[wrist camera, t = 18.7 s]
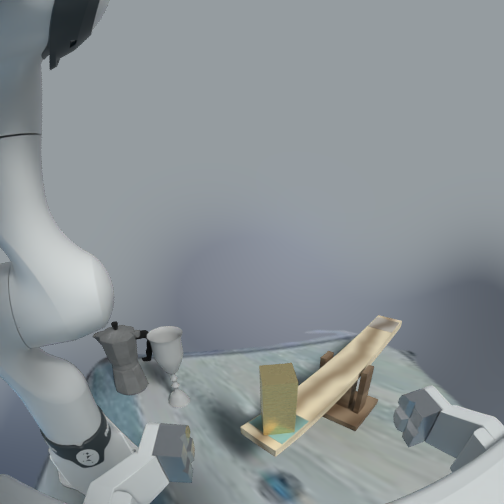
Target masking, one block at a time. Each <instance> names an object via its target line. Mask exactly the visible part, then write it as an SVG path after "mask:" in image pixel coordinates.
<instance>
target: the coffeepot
mask: <svg viewBox="0 0 504 504" xmlns="http://www.w3.org/2000/svg"><path fill="white" fill-rule="evenodd" d="M111 325H112V327H109V328H107V329H105V330H104V331H101V332H97V333H95V334H94V335H93V337H94V338H95V339H96V340H97V341H98V342H99V343H100V344H101V345H102V346H103V349H104V351H105V353H106V355H107V357H108V359H109V361H110V363H111V364H112V368H113V374H114V380H115V385H116V389H117V392H119V393H122V394H125V395H135V394H138V393H140V392H142V391H144V390H145V389H146V387H147V385H148V384H149V383H148V381H147V379H146V376H145V374H144V372H143V370H142V368H141V366H140V364H139V362H138V360H137V357H138V355H137V344H136V339H141V338H146V339H147V334H148V333H149V332H148V331H146V330H142V331H140V330H134V328H133V327H130V326H125V325H119V326H118V323H117V322H112V323H111ZM146 355H147V357H144V358H142V360H143V361H150V360H151V357H152V347H151V343H150V341H149V340H148V339H147V350H146Z"/></svg>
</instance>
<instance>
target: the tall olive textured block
mask: <svg viewBox="0 0 504 504" xmlns="http://www.w3.org/2000/svg"><path fill="white" fill-rule="evenodd" d="M259 370H260V398H261V418H262V426H263V434H264V435H275V434H284V433H293V432H295V420H296V407H297V394H298V380H297V377H296V374H295V371H294V368H293V365H292V363H286V364H275V365H263V366H259Z"/></svg>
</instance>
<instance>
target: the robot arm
mask: <svg viewBox="0 0 504 504" xmlns="http://www.w3.org/2000/svg"><path fill="white" fill-rule="evenodd" d="M109 1H110V0H0V248H1V249H2V250H3V251H4V252H5V253H6V255H7V256H8V258H9V259H10V261H11V262H7V263H2V264H0V377H1V378H2V379H3V380H4V381H5V382H6V383H7V384H8V385H9V386H10V387H11V388H12V389H13V390H14V391H15V393H16V394H17V395H18V396H19V397H20V399H21V400H22V401H23V403H24V404H25V406H26V408H27V409H28V411H29V412H30V413H31V415H32V416H33V418H34V420H35V421H36V423H37V424H38V426H39V427H40V431H41V434H42V436H43V437H44V440H45V442H46V443H47V444H48V446H49V447H50V448H49V453H50V459H51V460H52V462H53V463H54V465H55V466H56V467H57V469H58V474H59V480H60V482H61V483H62V485H64V486H66V487H69V488H73V489H76V490H78V491H79V492H81V493H82V494H84V495H86V497H85V500H84V502H83V504H150V503H151V502H152V501H153V500H154V498H155V497H156V496H157V495H158V494H159V493H160V492H161V491H162V490H163V489H164V488H165V487H166V486H167V485H168V484H169V482H186V483H192V477H193V467H192V465H191V463H192V462H193V461H194V456H195V450H194V442H193V439H192V438H191V437H190V429H189V426H188V425H176V424H163V423H151V422H148V423H147V424H146V426H145V429H144V432H143V435H142V439H141V442H140V445H139V448H138V447H137V446H136V445H135V444H134V443H133V442H132V441H131V440H130V439H129V438H128V437H127V436H125V435H124V434H123V433H122V432H121V431H120V430H119V429H118V428H117V427H116V426H115V425H114V424H113V423H112V421H111V420H110V419H109V418H108V417H106V416H105V414H104V413H103V412H102V410H101V409H100V407H99V406H98V405H97V404H96V402H95V400H94V398H93V395H92V393H91V391H90V388H89V386H88V384H87V381H86V379H85V377H84V375H83V374H82V373H81V372H80V370H79V369H77V367H75V366H74V365H73V364H72V363H70V362H69V361H67V360H65V359H62V358H59V357H56V356H53V355H50V354H48V353H46V352H45V351H43V350H42V349H41V348H40V347H42V346H47V345H53V344H58V343H63V342H69V341H74V340H77V339H79V338H82V337H84V336H86V335H89V334H91V333H93V332H95V331H97V330H99V329H101V328H104V327H105V326H106V324H107V323H108V321H109V319H110V317H111V314H112V311H113V306H114V291H113V285H112V281H111V279H110V276H109V274H108V272H107V270H106V269H105V267H104V266H103V264H102V263H101V262H100V261H99V260H98V259H97V258H96V257H95V256H93V255H92V254H90V253H88V252H87V251H85V250H83V249H81V248H80V247H78V246H77V245H75V244H74V243H73V242H72V241H71V240H69V238H68V237H67V236H66V235H65V234H64V233H63V232H62V231H61V229H60V228H59V227H58V225H57V224H56V222H55V220H54V218H53V217H52V214H51V212H50V210H49V207H48V204H47V201H46V196H45V190H44V184H43V175H42V161H41V135H42V77H41V76H42V75H41V74H42V73H41V62H42V60H43V59H45V58H46V57H47V56H48V55H50V70H52V69H53V68H55V67H57V65H58V63H59V60H60V58H61V57H63V56H65V55H67V54H69V53H70V52H72V51H74V50H75V49H76V48H78V46H80V45H81V44H82V43H83V42H84V41H85V40H86V39H87V38H88V37H89V36H90V35H91V32H92V30H93V29H94V27H95V26H96V25H97V24H98V22H99V21H100V19H101V18H102V16H103V14H104V13H105V11H106V8H107V6H108V3H109ZM398 403H399V407H398V408H397V409H396V410H395V412H394V416H393V418H394V424H395V427H396V428H397V430H399V431H401V432H403V435H402V438H403V439H404V441H405V442H406V444H407V446H408V447H411V446H413V445H416V444H419V443H421V442H424V441H425V442H426V443H428V444H430V445H432V446H434V447H435V448H437V449H439V450H441V451H443V452H445V453H447V454H449V455H451V456H453V457H455V458H456V460H455V461H454V462H453V464H452V465H451V467H450V469H451V471H452V473H450V474H449V475H447V476H445V477H443V478H441V479H440V480H438V481H436V482H434V483H432V484H430V485H428V486H426V487H424V488H422V489H420V490H417V491H415V492H413V493H411V494H409V495H406V496H404V497H402V498H399V499H397V500H394V501H392V502H389V503H387V504H504V426H503V425H502V424H501V423H500V422H499V421H498V420H497V419H496V418H495V417H493V416H489V415H486V414H482V413H479V412H476V411H472V410H469V409H466V408H463V407H460V406H456V405H453V406H452V405H451V404H450V403H449V402H448V401H447V400H446V399H445V398H444V397H443V396H442V395H441V394H440V392H439V391H438V390H437V389H436V388H435V387H434V386H432V385H430V386H427V387H425V388H422V389H419V390H416V391H413V392H410V393H407V394H404V395H402V396H401V397H400V398H399V401H398ZM134 451H136V452H134ZM0 504H68V503H65V502H63V501H60V500H58V499H55V498H53V497H51V496H48V495H46V494H44V493H42V492H40V491H37V490H35V489H33V488H31V487H29V486H27V485H25V484H23V483H22V482H20V481H18V480H16V479H14V478H13V477H11V476H9V475H5V474H1V475H0Z"/></svg>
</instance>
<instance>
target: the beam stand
mask: <svg viewBox="0 0 504 504" xmlns="http://www.w3.org/2000/svg"><path fill="white" fill-rule="evenodd" d="M333 354H334V353H333V352H330V351H328V352H327V353H326V354H324V355H323V356H322V357H321V360H320V368H321V367H323V366H324V365H325V364H326V363H327V362H329V361H330V360H331V359H332V358H333ZM373 369H374V366H371V365H368V366H367V367H366V368H365V370H364V371H363V372H362V375H361V379H360V384H359V389H358V392H357V391H355V390H356V386H357V381H358V380H357V381H356V382H355V383H354V384H353V385H352V386H351V387H350V389H349V390H348V391H347V392H346V393H345V394H344V395H343V396H342V397H341V398H340V399H339V400H338V401H337V402H336V403H335V404H334V405H333V406H332V407H331V408H330V409H329V410H328V411H327V412H326V413H325V414H324V415H323V417H325V418H327V419H330V420H332V421H334V422H336V423H338V424H341V425H343V426H345V427H347V428H350V429H352V430H354V431H356V430H357V428H358V427H359V426H360V425H361V423H362V422H363V421H364V420H365V418H366V417H367V416H368V415H369V413H370V412H371V411H372V409H373V408H374V407H375V405H376V404H377V402H378V399H376V398H373V397H370V396H367V395H368V391H369V387H370V382H371V378H372V374H373Z"/></svg>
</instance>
